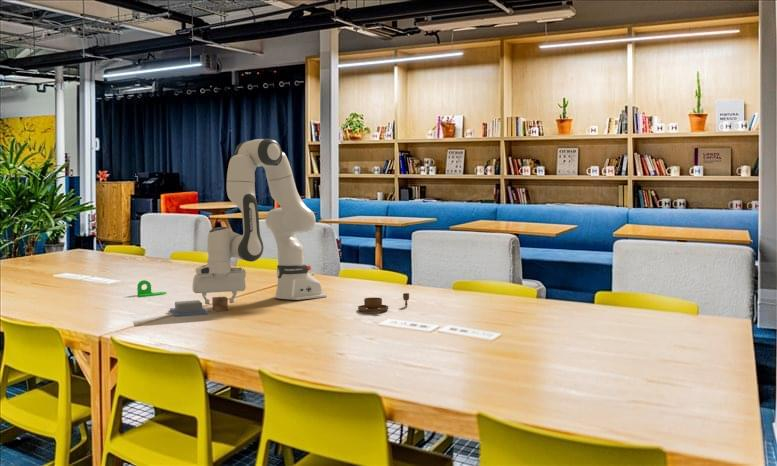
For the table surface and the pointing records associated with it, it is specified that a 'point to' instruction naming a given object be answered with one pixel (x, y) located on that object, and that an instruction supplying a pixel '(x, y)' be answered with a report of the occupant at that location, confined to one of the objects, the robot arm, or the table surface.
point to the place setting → (377, 304)
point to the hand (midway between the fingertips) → (219, 303)
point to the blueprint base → (188, 308)
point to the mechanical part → (147, 290)
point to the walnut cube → (220, 303)
